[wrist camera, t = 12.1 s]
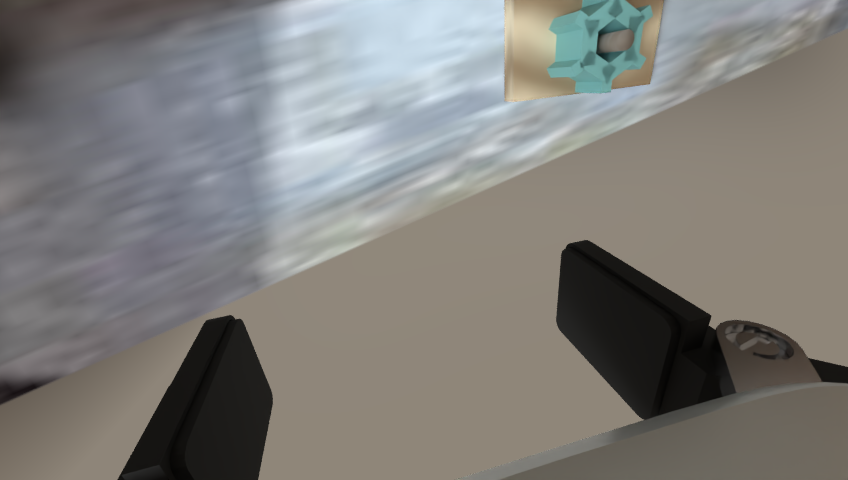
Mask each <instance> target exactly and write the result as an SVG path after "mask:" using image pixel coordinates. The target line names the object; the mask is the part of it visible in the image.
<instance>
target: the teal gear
mask: <svg viewBox="0 0 848 480" xmlns="http://www.w3.org/2000/svg"><path fill="white" fill-rule="evenodd" d="M652 16H653V13H652V9H651V6H650V5H647V6H643V7H639V8H634V7H633V6H632V5H631V4H629V3H628V2H627V1H626V0H583V1H582V8H581V9H580V10H579V11H577V12H573V13H570V14H567V15H563V16H560V17H557V18H554V19H553V21H552V23H551V25H550V27H549V29H548V30H550V31H551V32H553V33H554V34H556V35H557V36H556V53H555V62H554V63H553V64H552V65H550V66H549V67H548V68H547V71H548V73H549V75H550V77H551V78H555V77H569V78H571V79H572V80H574V81H576V85H575V92H578V93H607V92H611V85H612V80H613V79H614V78H616V77H617V76H618V75H619V74H621V73H622V72H623V71H625V70H635V69H641V67H642V65H643V64H644V62H645V60H646V58H645V57H644V56H643V55H641V54H640V53H639V51H640V44H641V37H642V31H643V24H644V23H645V22H646V21H647V20H649V19H650V18H651V17H652ZM626 29H630V30H632V31H633V33H634V42H633V45H632V46H631V47H630V48H629V49H628V50H625V51H617V52H608V53H600V54H596V49H597V39H598V35H600V34H605V33H611V32H616V31H621V30H626Z"/></svg>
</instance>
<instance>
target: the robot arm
mask: <svg viewBox="0 0 848 480" xmlns="http://www.w3.org/2000/svg"><path fill="white" fill-rule="evenodd" d="M710 319H711V315H710V314H708V313H706V312H705V311H703V310H701V309H700V308H698V307H696V306H695V305H693V304H692V303H690V302H688V301H687V300H685V299H684V298H682V297H680V296H679V295H677V294H675V293H674V292H672V291H670V290H669V289H667V288H666V287H664V286H662V285H661V284H659V283H657V282H656V281H654V280H652V279H651V278H649V277H648V276H646V275H644V274H642V273H641V272H639V271H638V270H636V269H634V268H633V267H631V266H629V265H628V264H626V263H625V262H623V261H621V260H620V259H618V258H616V257H615V256H613V255H611V254H610V253H608V252H606V251H605V250H603V249H602V248H600V247H599V246H597V245H595V244H593V243H592V242H590V241H588V240H584V241H579V242H574V243H570V244H568V245H567V246H566V249H564V250H563V251H562V254H561V266H560V278H559V291H558V304H557V317H556V322H557V325H558V328H559V330H560V331H561V332H562V333H563V334H564V335H565V336H566V338H567V339H569V341H570V342H571V343H572V344H573V345H574V346H575V347H576V348H577V349H578V351H579V352H580V353H581V354H582V355H583V356H584V357H585V358H586V359H587V360H588V361H589V363H590V364H591V365H592V366H593V367H594V368H595V369H596V370H597V371H598V372H599V373H600V375H601V376H602V377H603V378H604V379H605V380H606V381H607V382H608V383H609V384H610V386H611V387H612V388H613V389H614V390H615V391H616V392H617V393H618V394H619V395H620V396H621V397H622V399H623V400H624V401H625V402H626V403H627V404H628V405H629V406H630V407H631V408H632V409H633V410H634V411H635V413H636V414H637V415H638V416H639V417H641V418H642V419H644V420H643V421H640V422H637V423H634V424H630V425H627V426H624V427H621V428H618V429H614V430H612V431H608V432H605V433H601V434H598V435H595V436H592V437H589V438H585V439H582V440H579V441H576V442H573V443H570V444H566V445H563V446H560V447H557V448H554V449H551V450H548V451H544V452H541V453H538V454H535V455H532V456H528V457H526V458H523V459H519V460H516V461H513V462H510V463H506V464H503V465H500V466H497V467H494V468H491V469H488V470H484V471H481V472H478V473H475V474H472V475H469V476H466V477H463V478H459V479H456V480H848V367H845V366H841V365H836V364H832V363H828V362H823V361H819V360H814V359H810V358H808V357H807V356H806V354H805V353H804V351H803V349H802V348H801V347H800V346H799V345H798V343H796V341H794V340H793V339H791V338H790V337H789V336H787V335H786V334H783V333H782V332H779V331H778V330H776V329H773V328H771V327H768V326H765V325H762V324H759V323H754V322H750V321H741V320H731V321H725V322H723V323H720V324H719V325H718V326H717V328H716V330H715V329H713V328H712V327H710V326H709V322H710ZM272 404H273V398H272V392H271V389H270V386H269V384H268V381H267V379H266V377H265V374H264V372H263V369H262V367H261V364H260V362H259V360H258V357H257V354H256V352H255V350H254V347H253V345H252V342H251V340H250V337H249V335H248V332H247V330H246V327H245V325H244V323H243V321H242V320H241V319H236V320H235V318H234V317H233V316H231V315H229V316H224V317H220V318H215V319H210V320H207V321H206V322H205V323H204V325H203V326H202V328H201V330H200V332H199V334H198V336H197V337H196V339H195V341H194V343H193V345H192V347H191V348H190V350H189V352H188V354H187V356H186V358H185V359H184V361H183V363H182V365H181V367H180V369H179V371H178V372H177V374H176V376H175V378H174V380H173V381H172V383H171V385H170V386H169V387H168V389H167V391H166V393H165V394H164V396H163V398H162V400H161V402H160V403H159V405H158V407H157V409H156V411H155V413H154V414H153V416H152V418H151V420H150V422H149V423H148V425H147V427H146V429H145V431H144V433H143V434H142V436H141V438H140V440H139V442H138V444H137V445H136V447H135V449H134V451H133V453H132V455H131V456H130V458H129V460H128V462H127V464H126V466H125V468H124V469H123V471H122V473H121V474H120V476H119V478H118V480H258V477H259V471H260V467H261V462H262V456H263V451H264V446H265V440H266V436H267V431H268V425H269V420H270V415H271V410H272Z"/></svg>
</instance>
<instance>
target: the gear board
mask: <svg viewBox="0 0 848 480" xmlns="http://www.w3.org/2000/svg"><path fill="white" fill-rule="evenodd" d="M582 1H583V0H505V101H508V102H517V101H525V100H533V99H540V98H548V97H555V96H563V95H571V94H578V92H575V85H576V81H574V80H572V79H571V78H569V77H555V78H551V77H550V75H549V73H548V71H547V68H548V67H549V66H550V65H552V64H553V63H554V62H555V53H556V36H557V35H556V34H554V33H553V32H551V31H550V30H548V29H549V27H550V25H551V23H552V21H553V19H554V18H557V17H560V16H563V15H567V14H570V13H573V12H577V11H579V10H580V9H581V8H582ZM626 1H627V2H628V3H629V4H631V5H632V6H633V7H634V8H639V7H643V6H647V5H650V6H651V9H652V13H653V16H652V17H651V18H650V19H649V20H647V21H646V22H645V23H644V24H643V31H642V37H641V44H640V51H639V53H640V54H641V55H643V56H644V57H645V58H646V60H645V62H644V64H643V65H642V67H641V69H635V70H625V71H623V72H622V73H621V74H619V75H618V76H617V77H616V78H614V79H613V80H612V85H611V89H616V88H624V87H631V86H639V85H647V84H650V81H651V75H652V69H653V63H654V57H655V51H656V45H657V39H658V33H659V27H660V21H661V14H662V8H663V2H664V0H626ZM633 42H634V33H633V31H632V30H630V29H626V30H621V31H616V32H611V33H605V34H600V35H598V39H597V49H596V54H600V53H608V52H617V51H625V50H628V49H629V48H630V47H631V46H632V45H633Z"/></svg>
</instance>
